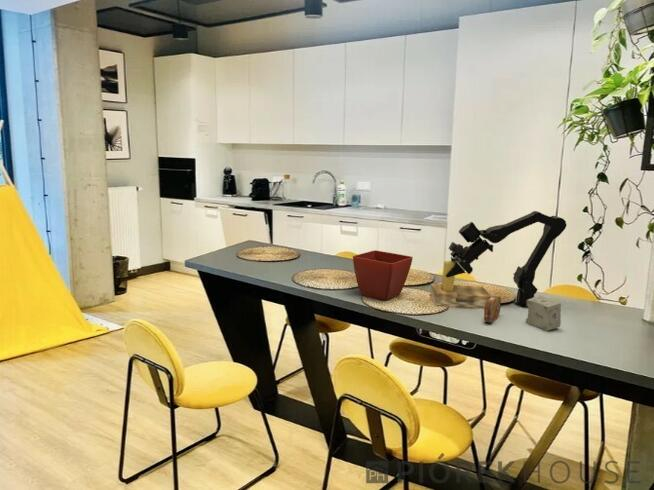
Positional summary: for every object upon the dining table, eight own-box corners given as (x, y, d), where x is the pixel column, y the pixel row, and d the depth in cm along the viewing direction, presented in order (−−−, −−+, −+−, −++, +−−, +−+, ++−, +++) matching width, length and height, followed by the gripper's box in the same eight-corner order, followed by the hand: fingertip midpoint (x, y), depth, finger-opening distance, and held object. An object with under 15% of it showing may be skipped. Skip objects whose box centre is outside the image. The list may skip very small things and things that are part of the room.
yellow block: (451, 289, 219) (453, 261, 216) (453, 291, 215) (455, 263, 212) (441, 288, 219) (444, 261, 216) (443, 291, 215) (445, 263, 212)
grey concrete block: (523, 323, 194) (526, 296, 192) (539, 321, 198) (542, 294, 196) (544, 332, 185) (547, 304, 183) (560, 329, 189) (564, 302, 187)
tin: (489, 325, 190) (492, 303, 188) (481, 323, 191) (483, 302, 190) (500, 315, 202) (502, 294, 201) (492, 313, 204) (494, 292, 202)
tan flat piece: (481, 297, 224) (482, 286, 224) (492, 309, 208) (493, 297, 207) (430, 294, 225) (431, 283, 224) (437, 306, 209) (438, 294, 208)
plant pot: (372, 285, 235) (374, 249, 232) (410, 294, 224) (413, 256, 221) (349, 294, 220) (351, 256, 216) (389, 304, 209) (392, 263, 206)
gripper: (457, 232, 221) (429, 256, 224) (467, 240, 203) (436, 266, 205) (474, 251, 223) (445, 275, 225) (485, 261, 204) (454, 286, 207)
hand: (445, 275), depth 215 cm, fingers closed on yellow block, 4 cm apart
